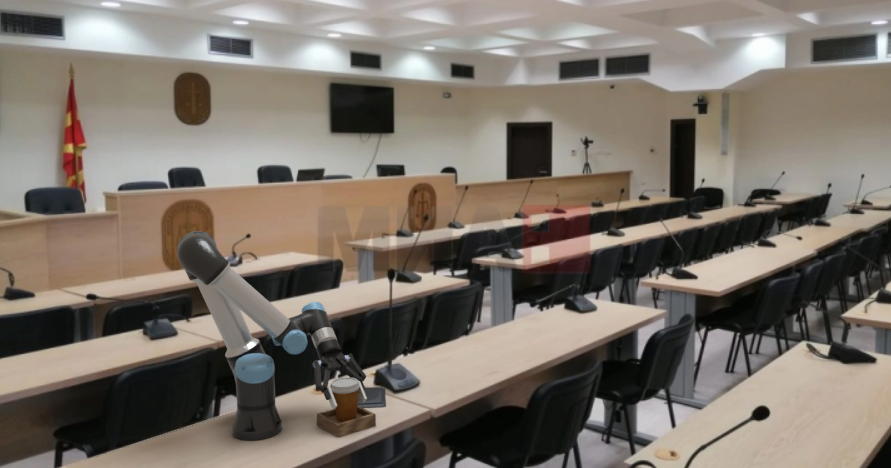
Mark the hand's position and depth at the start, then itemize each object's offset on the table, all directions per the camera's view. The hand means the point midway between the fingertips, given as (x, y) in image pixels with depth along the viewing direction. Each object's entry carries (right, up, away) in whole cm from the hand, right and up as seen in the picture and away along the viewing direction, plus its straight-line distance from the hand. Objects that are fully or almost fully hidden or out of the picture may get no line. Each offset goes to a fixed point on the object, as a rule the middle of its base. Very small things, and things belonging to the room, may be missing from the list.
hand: (350, 404), depth 227 cm
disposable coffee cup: (-2, -5, +4) cm, 7 cm away
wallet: (+1, -5, +29) cm, 29 cm away
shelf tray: (-2, -8, +3) cm, 8 cm away
